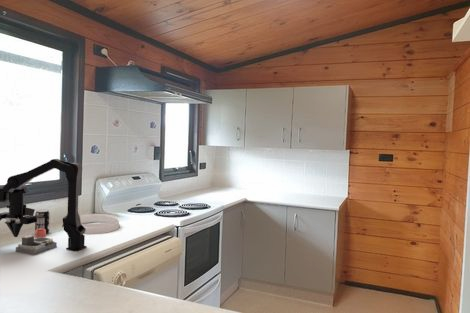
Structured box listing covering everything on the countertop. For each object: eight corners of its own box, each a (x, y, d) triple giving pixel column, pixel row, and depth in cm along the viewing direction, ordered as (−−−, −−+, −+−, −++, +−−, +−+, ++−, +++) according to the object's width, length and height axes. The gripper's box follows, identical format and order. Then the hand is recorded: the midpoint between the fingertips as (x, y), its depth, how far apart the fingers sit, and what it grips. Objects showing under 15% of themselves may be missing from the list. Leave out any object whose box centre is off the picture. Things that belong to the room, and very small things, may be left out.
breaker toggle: (33, 245, 163) (33, 235, 163) (27, 247, 160) (27, 237, 159) (28, 244, 164) (28, 234, 164) (21, 246, 161) (21, 236, 160)
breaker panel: (56, 246, 169) (57, 239, 169) (33, 254, 156) (33, 246, 156) (39, 243, 172) (39, 236, 172) (15, 251, 159) (15, 244, 159)
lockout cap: (47, 240, 178) (48, 228, 177) (40, 243, 173) (40, 230, 173) (40, 239, 179) (40, 227, 179) (32, 242, 175) (33, 229, 174)
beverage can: (45, 230, 195) (46, 208, 195) (51, 233, 191) (51, 210, 191) (32, 232, 190) (33, 210, 190) (38, 235, 186) (38, 212, 186)
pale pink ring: (59, 233, 192) (59, 223, 192) (79, 221, 219) (79, 213, 219) (110, 235, 193) (110, 225, 193) (124, 223, 220) (124, 214, 220)
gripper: (47, 201, 168) (46, 234, 169) (15, 198, 173) (15, 230, 174) (26, 205, 157) (26, 241, 158) (-6, 202, 163) (-6, 236, 163)
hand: (16, 236), depth 164 cm, fingers closed
